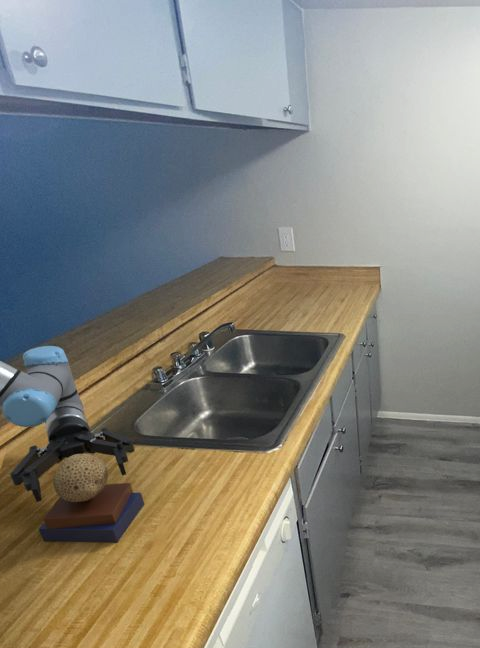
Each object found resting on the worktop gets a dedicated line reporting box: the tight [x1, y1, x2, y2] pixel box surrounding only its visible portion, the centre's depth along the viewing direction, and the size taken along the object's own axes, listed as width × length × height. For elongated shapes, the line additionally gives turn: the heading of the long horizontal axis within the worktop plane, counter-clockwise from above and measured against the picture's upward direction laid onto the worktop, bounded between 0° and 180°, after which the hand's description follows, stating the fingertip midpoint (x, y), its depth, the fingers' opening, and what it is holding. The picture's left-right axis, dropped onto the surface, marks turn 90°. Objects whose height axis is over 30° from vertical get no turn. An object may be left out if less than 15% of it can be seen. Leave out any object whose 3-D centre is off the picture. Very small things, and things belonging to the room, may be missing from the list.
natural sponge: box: [52, 453, 109, 502], centre depth 91 cm, size 9×9×10 cm
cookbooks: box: [38, 482, 145, 543], centre depth 94 cm, size 14×11×6 cm
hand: (81, 482), depth 88 cm, fingers open, 13 cm apart
